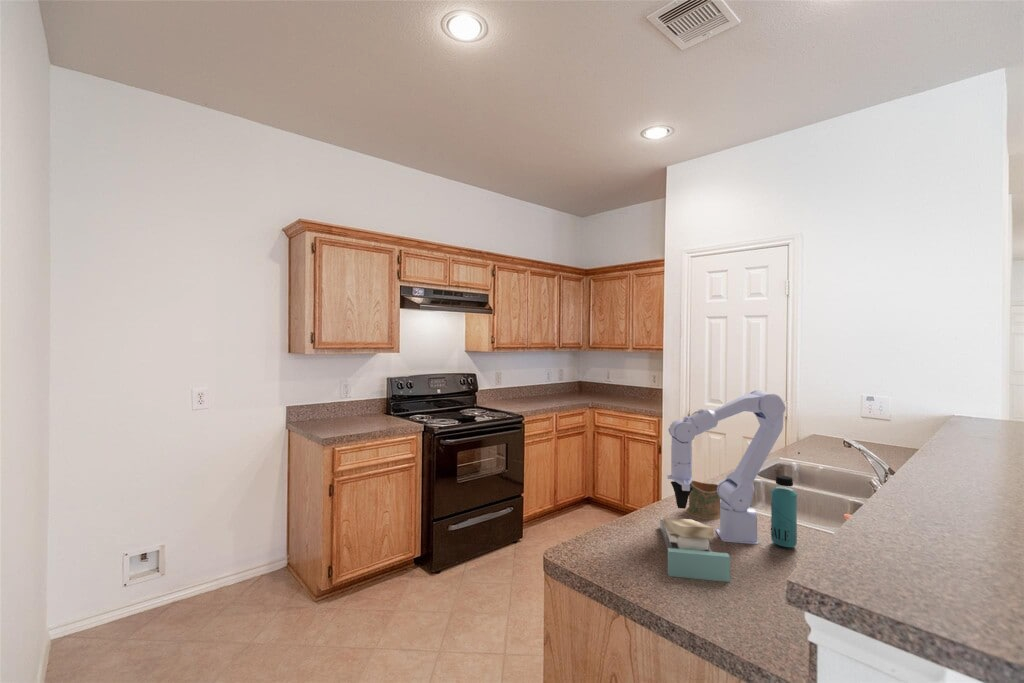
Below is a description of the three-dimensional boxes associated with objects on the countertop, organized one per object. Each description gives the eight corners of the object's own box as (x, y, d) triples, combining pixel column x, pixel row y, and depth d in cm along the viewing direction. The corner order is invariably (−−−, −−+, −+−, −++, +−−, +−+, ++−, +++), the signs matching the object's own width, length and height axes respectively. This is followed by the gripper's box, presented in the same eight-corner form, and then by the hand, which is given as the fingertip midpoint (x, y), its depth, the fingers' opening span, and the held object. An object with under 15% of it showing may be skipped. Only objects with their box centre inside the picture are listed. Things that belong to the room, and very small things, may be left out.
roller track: (696, 531, 138) (696, 517, 138) (719, 576, 111) (719, 559, 111) (659, 528, 140) (660, 514, 140) (674, 571, 113) (674, 555, 113)
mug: (747, 525, 143) (747, 486, 143) (687, 518, 148) (687, 481, 148) (740, 511, 154) (740, 476, 154) (684, 506, 159) (685, 471, 159)
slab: (692, 528, 130) (691, 519, 130) (713, 538, 114) (713, 527, 115) (663, 527, 130) (663, 518, 131) (681, 536, 115) (681, 526, 115)
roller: (709, 538, 116) (708, 552, 116) (699, 533, 120) (698, 547, 119) (687, 538, 114) (686, 553, 114) (677, 533, 117) (676, 548, 117)
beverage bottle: (794, 544, 129) (794, 474, 129) (800, 554, 123) (801, 481, 123) (768, 541, 131) (768, 472, 131) (773, 551, 125) (773, 478, 125)
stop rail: (727, 577, 110) (727, 553, 110) (730, 582, 108) (730, 557, 108) (667, 571, 113) (667, 547, 113) (668, 576, 111) (669, 551, 111)
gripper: (663, 454, 142) (663, 498, 142) (671, 467, 127) (671, 515, 127) (687, 455, 140) (687, 499, 140) (697, 468, 126) (697, 517, 126)
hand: (681, 507), depth 134 cm, fingers closed
